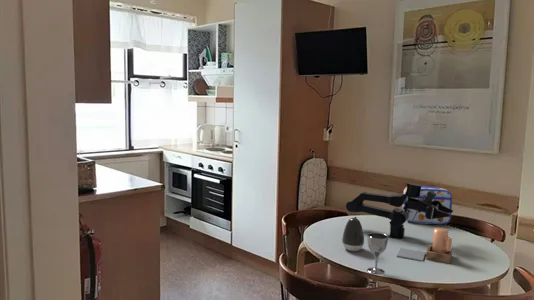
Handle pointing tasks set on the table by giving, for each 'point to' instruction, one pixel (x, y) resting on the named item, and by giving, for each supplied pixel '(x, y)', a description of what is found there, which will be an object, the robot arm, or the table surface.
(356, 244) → the dark grey egg shape
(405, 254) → the mat
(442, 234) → the tan dome with tab
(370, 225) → the table surface
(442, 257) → the holder
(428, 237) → the table surface
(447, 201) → the lunch box
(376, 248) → the wine glass
